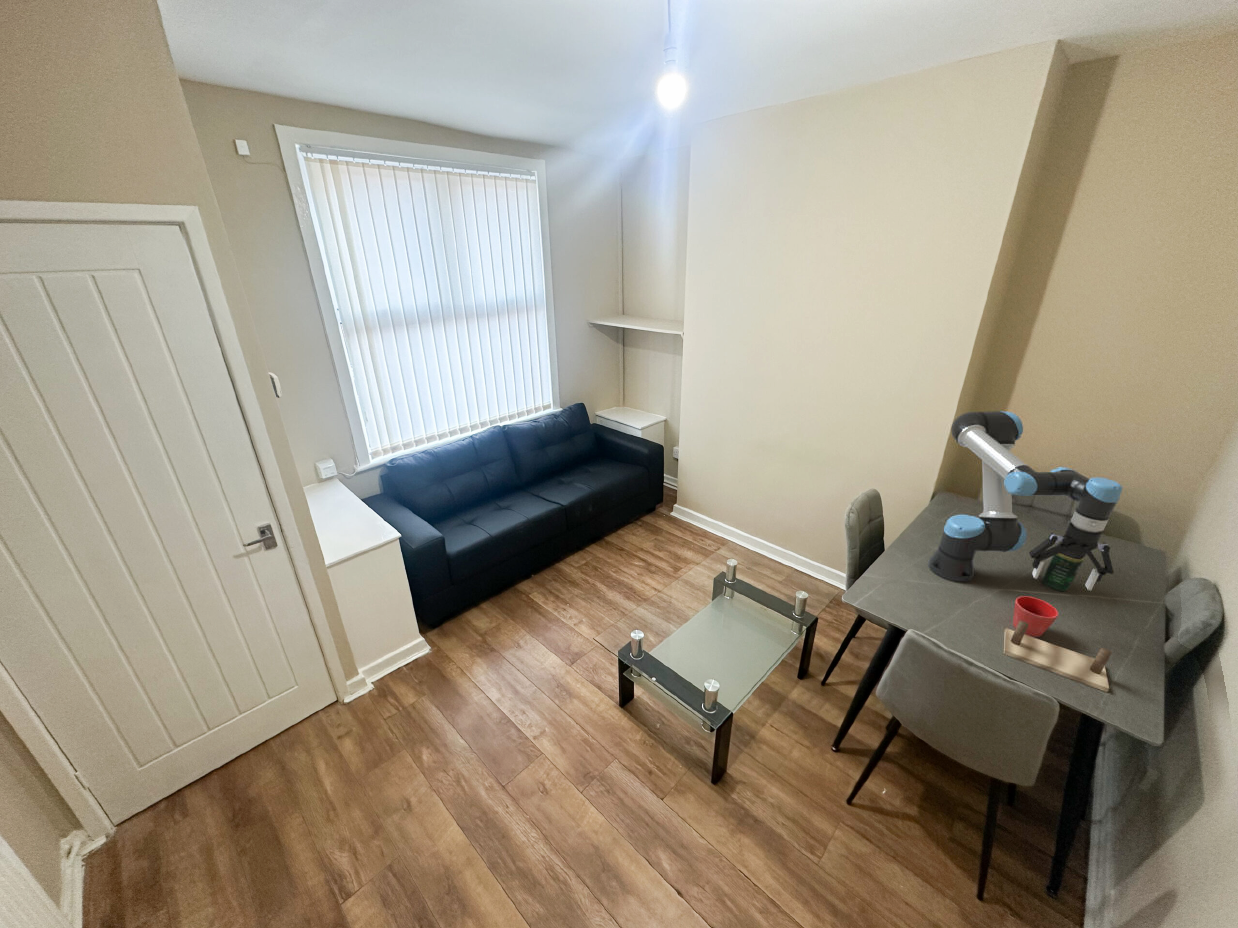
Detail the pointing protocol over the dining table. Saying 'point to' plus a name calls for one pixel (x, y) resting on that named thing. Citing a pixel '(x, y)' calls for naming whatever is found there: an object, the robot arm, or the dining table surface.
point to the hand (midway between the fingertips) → (1060, 581)
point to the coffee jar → (1062, 570)
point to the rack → (1057, 658)
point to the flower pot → (1034, 615)
